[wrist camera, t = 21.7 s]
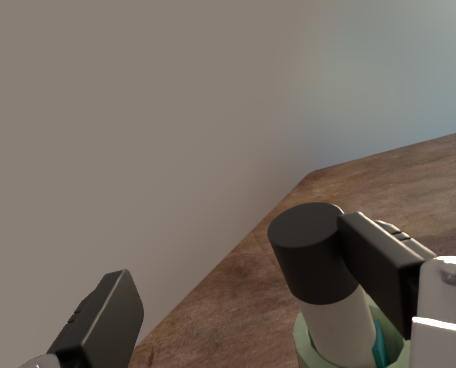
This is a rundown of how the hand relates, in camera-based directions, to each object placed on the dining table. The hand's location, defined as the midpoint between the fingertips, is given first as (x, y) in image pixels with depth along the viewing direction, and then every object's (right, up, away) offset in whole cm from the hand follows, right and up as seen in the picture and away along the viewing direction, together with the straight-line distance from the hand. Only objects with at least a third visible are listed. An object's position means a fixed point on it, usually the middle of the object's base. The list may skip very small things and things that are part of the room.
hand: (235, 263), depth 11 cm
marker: (+8, -12, +6) cm, 16 cm away
